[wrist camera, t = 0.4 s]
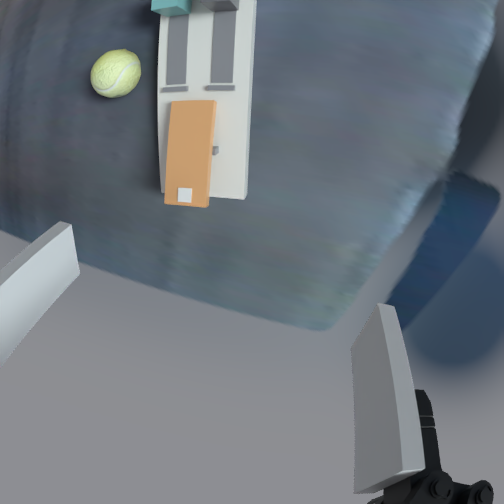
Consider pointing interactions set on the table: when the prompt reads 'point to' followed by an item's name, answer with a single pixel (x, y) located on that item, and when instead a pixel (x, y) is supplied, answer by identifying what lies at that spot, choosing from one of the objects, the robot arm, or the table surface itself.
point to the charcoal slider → (221, 5)
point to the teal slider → (171, 7)
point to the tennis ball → (116, 73)
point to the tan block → (190, 152)
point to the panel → (211, 85)
